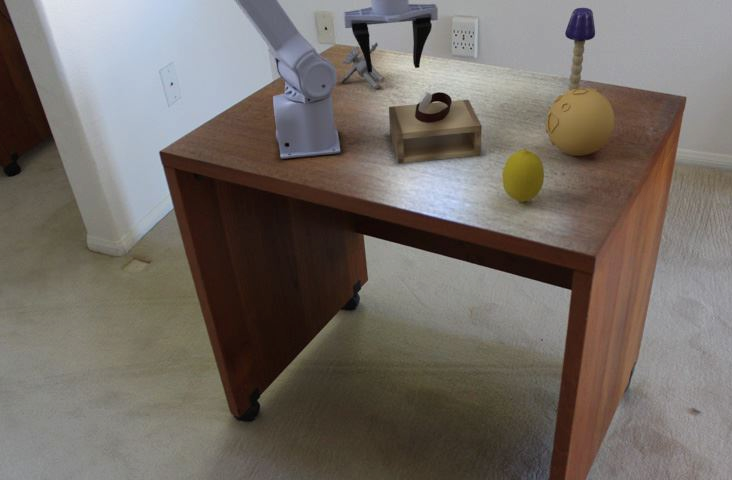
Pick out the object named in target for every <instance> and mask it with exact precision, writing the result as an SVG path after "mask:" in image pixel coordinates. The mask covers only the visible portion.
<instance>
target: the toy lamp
mask: <svg viewBox="0 0 732 480" xmlns="http://www.w3.org/2000/svg"><path fill="white" fill-rule="evenodd" d="M564 36H565V37H566V38H567V39H569V40H572V41H573V44H574V47H573V49H572V52H573V55H572V58H571V62H572V65H571V67H570V75H569V81H570V82H569V83H568V91H570V90H573V89H578V88H581V87H580V86H581V85H580V81H581V79H582V75H581V73H582V70H583V65H582V64H583V62H584V56H583V55H584V53H585V44H586V41H590V40H593V38H595V36H596V25H595V19H594V13H593V10H592V9H591V8H589V7H577V8H575V9H573V11H572V13H571V15H570V17H569V21H568V24H567V26H566V29H565V35H564Z"/></svg>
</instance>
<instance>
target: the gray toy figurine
mask: <svg viewBox="0 0 732 480" xmlns="http://www.w3.org/2000/svg"><path fill="white" fill-rule="evenodd" d="M378 44H379V43H378V42H375V43H374V44H371V47H370V55H371V54H372V53H373V52H374V51H376V49H377V47H378V46H379V45H378ZM359 55H360V49H359V45H357V46H355V47H353V49H352V50H350V51H348V53H347V56H346V57H345V58H344V59H343V60H342V64H347V65H350V64H352V63H353V64H352V65H351V68H350V69H349V71H348V72H347V74H346V75H345V76H344V77H341V80H340V84H344V83H345V82H347V81H348V79H349V78H350V77H351V76H352V75H353V74H354V73H355V72H357V74H358V75H359V77H361V78H364V79H365V80H366V81H367V82H368V83H369V84H370V85H371V86H372V87H373V88H374V90H378V89H379V88H380V85H379V83H378V82H377V81H376V80H378V81H379V82H380V83H384V82H385V80H386V79H385V77H384V76H383V75H382V74H381V73H380V72H378V70H376V68H374V65H373V64H372V72H368V71H367V66H366V61H365V58H364V55H363V54H362V55H361V56H360V57H358V56H359Z"/></svg>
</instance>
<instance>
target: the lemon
mask: <svg viewBox="0 0 732 480" xmlns="http://www.w3.org/2000/svg"><path fill="white" fill-rule="evenodd" d="M544 179H545V170H544V165H543V162H542V160H541V158H540V157H539V156H538V155H537V154H536V153H535V152H533V151H531V150H528V149H522V150H518V151H516V152H513V153H512V154H511V155H510V156H509V157H508V159H507V160H506V161H505V164H504V167H503V171H502V185H503V189H504V192H505V193H506V194H507V196H508V197H510V198H512V199H513V200H514V201H518V203H520V204H523V203H524V202H528V201H530V200H532V199H534V198H535V197H537V196H538V195H539V193H540V191H541V190H542V188H543V184H544Z"/></svg>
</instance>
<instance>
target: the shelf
mask: <svg viewBox="0 0 732 480" xmlns="http://www.w3.org/2000/svg"><path fill="white" fill-rule="evenodd" d="M417 104H418V103H417ZM417 104H416V103H415V104H406V105H394V106H388V117H389V119H388V121H389V135H390V140H391V144H392V147H393V151H394V156H395V159H396V161H397V164H407V163H416V162H417V163H418V162H427V161H437V160H445V159H447V160H448V159H455V158H458V159H459V158H466V157H478V156H481V155H482V130H483V129H482V126H483V125H482V123H481V121H480V120H479V117H478V115H477V114H476V111H475V109H474V107H473V105H472V104H471V102H470V100H469V99H457V100H452V103H451V107H450V111H449V113H448V114H447V116H446V117H445V118H443V119H442V120H439V121H436V122H432V123H425V122H421V121H419V120H417V119H416V117H415V111H416V106H417ZM447 107H448V106H447V105H446V104H445V103H443V102H432V103H430V104H429V106H428V108H427V109H426V110H425V111H424V112H423V113H427V114H434V113H438V112H440V111H441V110H444V109H445V108H447Z"/></svg>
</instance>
